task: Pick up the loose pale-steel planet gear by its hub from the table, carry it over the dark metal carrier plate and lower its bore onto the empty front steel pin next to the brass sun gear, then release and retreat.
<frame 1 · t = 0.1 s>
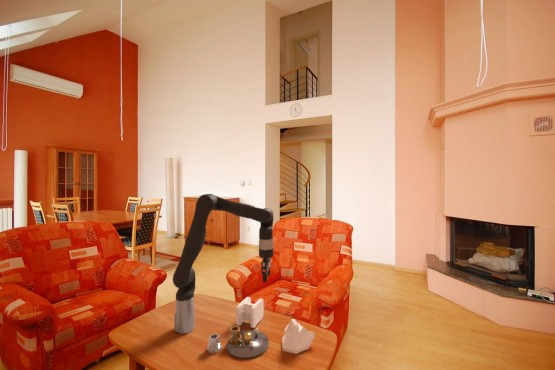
hand: (266, 278, 134), 29 cm above the table, fingers open, 8 cm apart
seated gear: (235, 340, 127), resting on carrier
carrier: (247, 344, 126), on the table
white faceted rock: (295, 346, 125), on the table
planet gear: (214, 349, 123), on the table
cable organizer: (250, 322, 147), on the table
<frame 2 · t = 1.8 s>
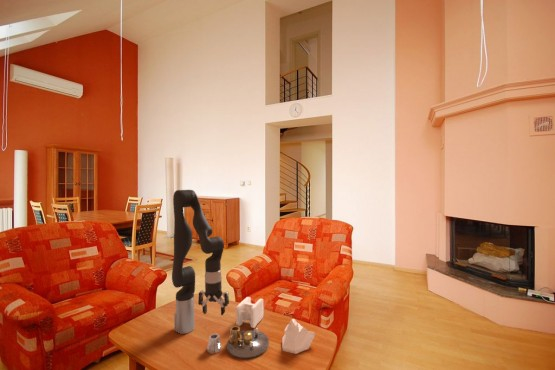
hand: (213, 313, 123), 17 cm above the table, fingers open, 8 cm apart
nothing on the table moved.
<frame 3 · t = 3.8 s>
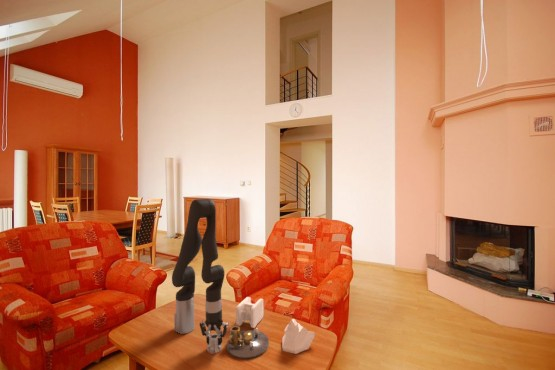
hand: (214, 344, 123), 2 cm above the table, fingers closed on planet gear, 4 cm apart
planet gear: (214, 348, 123), on the table, touching gripper
everything else where it was.
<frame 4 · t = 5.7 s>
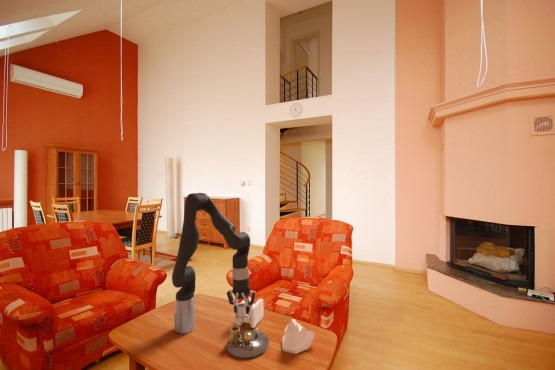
hand: (242, 313, 120), 18 cm above the table, fingers closed on planet gear, 4 cm apart
planet gear: (242, 318, 120), point 16 cm above the table, touching gripper
everything else where it was.
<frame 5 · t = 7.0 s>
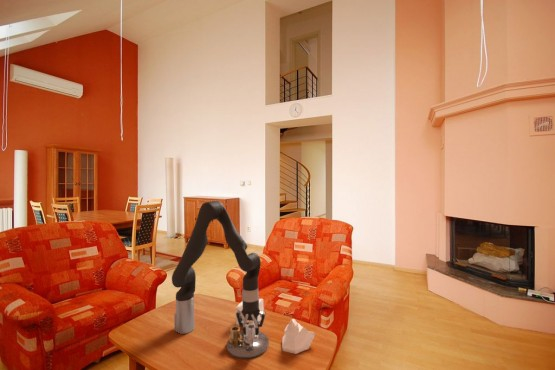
hand: (251, 334, 120), 9 cm above the table, fingers closed on planet gear, 4 cm apart
planet gear: (251, 339, 120), point 6 cm above the table, touching gripper
everything else where it was.
when the fingers open (5 cm above the table, at t = 8.0 s): planet gear drops 1 cm, resting on carrier.
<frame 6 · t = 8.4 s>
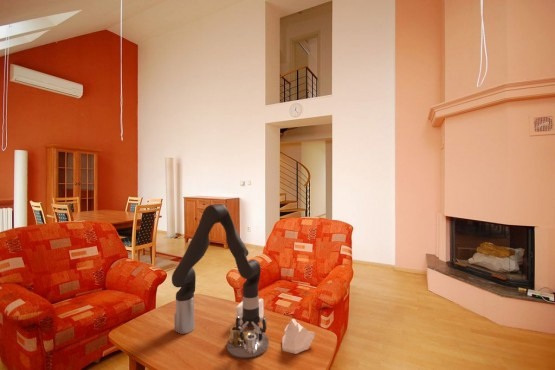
hand: (251, 339, 120), 6 cm above the table, fingers open, 8 cm apart
planet gear: (251, 349, 120), point 1 cm above the table, touching carrier
everything else where it was.
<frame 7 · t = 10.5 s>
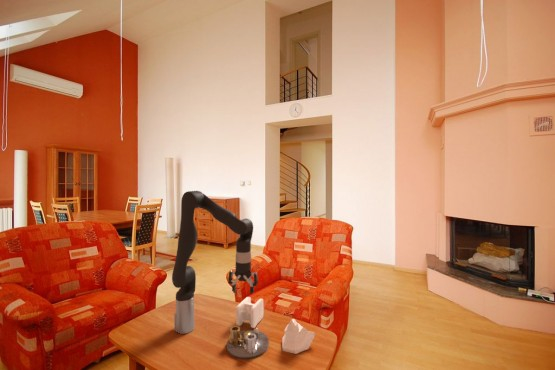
hand: (243, 292, 128), 25 cm above the table, fingers open, 8 cm apart
nothing on the table moved.
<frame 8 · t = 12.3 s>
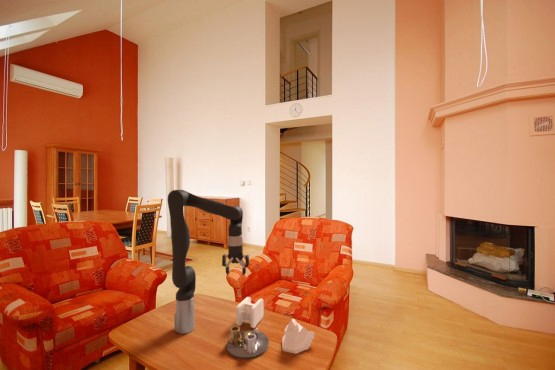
hand: (235, 274, 138), 30 cm above the table, fingers open, 8 cm apart
nothing on the table moved.
at the end: planet gear 0.1 cm from the target spot on the carrier, point 1.5 cm above the carrier's base; planet gear tilted 0°; the gripper is holding nothing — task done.
